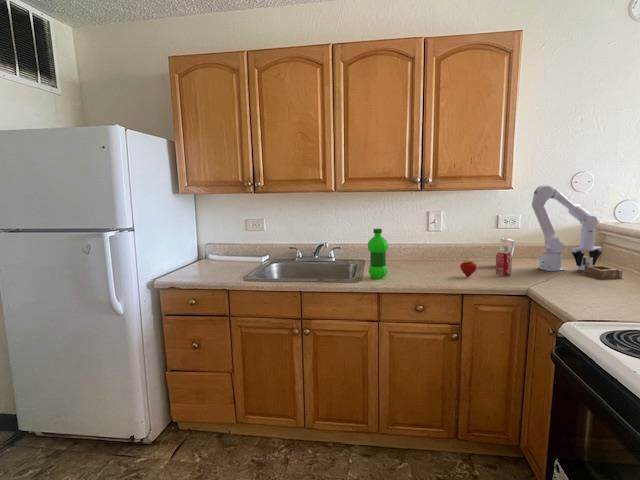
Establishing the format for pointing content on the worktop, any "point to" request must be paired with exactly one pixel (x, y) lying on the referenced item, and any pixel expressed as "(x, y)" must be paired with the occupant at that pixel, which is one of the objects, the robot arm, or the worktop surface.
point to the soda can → (503, 263)
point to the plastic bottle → (378, 255)
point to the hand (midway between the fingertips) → (585, 265)
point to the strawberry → (468, 268)
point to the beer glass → (507, 245)
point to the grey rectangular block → (585, 262)
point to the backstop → (620, 274)
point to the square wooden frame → (601, 272)
